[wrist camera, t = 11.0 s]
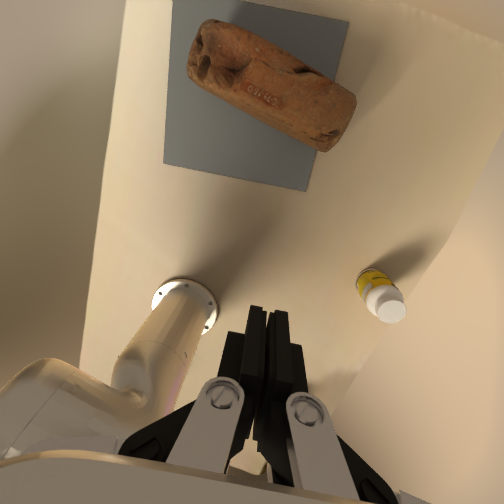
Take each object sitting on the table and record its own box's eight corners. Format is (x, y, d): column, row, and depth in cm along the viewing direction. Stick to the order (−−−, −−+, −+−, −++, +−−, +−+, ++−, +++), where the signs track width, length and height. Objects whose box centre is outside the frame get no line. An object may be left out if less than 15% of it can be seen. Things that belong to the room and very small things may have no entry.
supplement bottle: (392, 274, 48) (420, 305, 39) (375, 299, 50) (397, 333, 41) (364, 262, 48) (386, 290, 39) (348, 287, 50) (365, 320, 41)
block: (321, 153, 41) (199, 91, 40) (349, 101, 39) (218, 32, 37) (334, 157, 31) (171, 74, 30) (372, 87, 29) (195, -8, 27)
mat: (305, 191, 44) (305, 191, 44) (163, 163, 44) (163, 163, 44) (348, 23, 36) (348, 22, 36) (174, -12, 36) (173, -13, 36)
